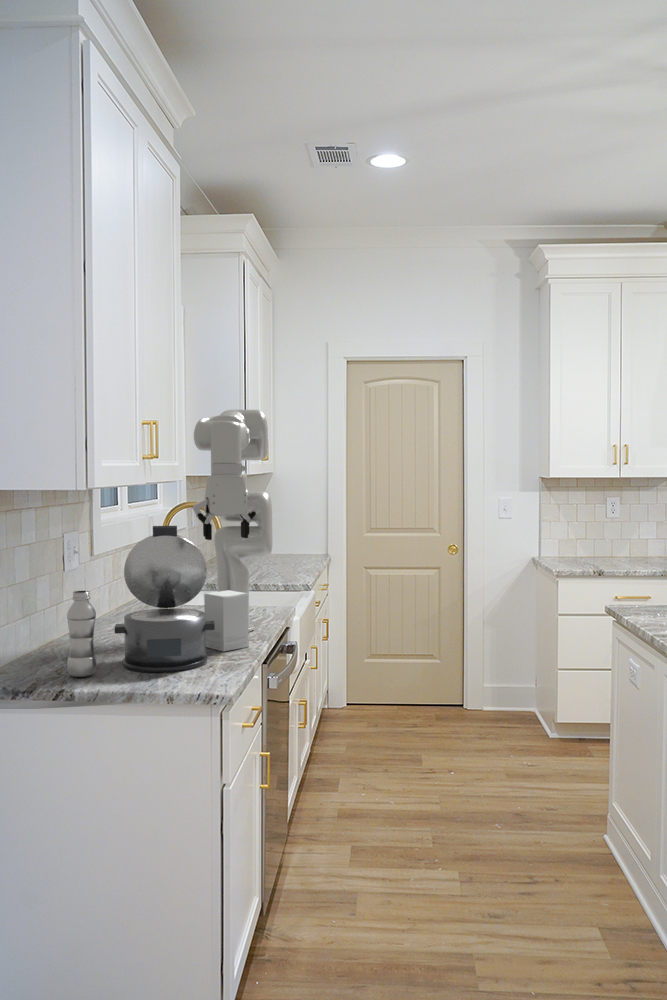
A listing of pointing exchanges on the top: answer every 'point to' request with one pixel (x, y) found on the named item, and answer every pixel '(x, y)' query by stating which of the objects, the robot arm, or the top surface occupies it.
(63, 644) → the top surface
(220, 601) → the supplement box
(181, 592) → the lid
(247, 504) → the robot arm
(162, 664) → the pressure cooker
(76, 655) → the plastic bottle
